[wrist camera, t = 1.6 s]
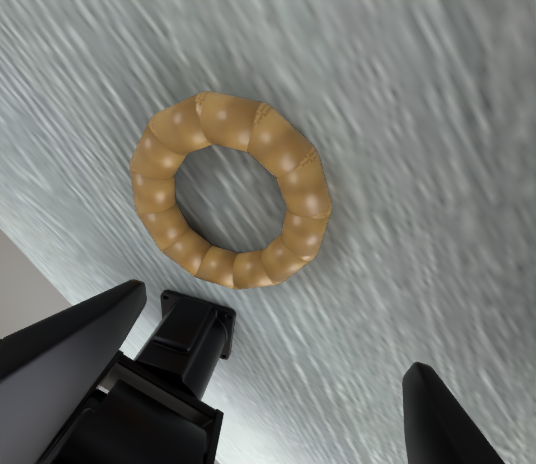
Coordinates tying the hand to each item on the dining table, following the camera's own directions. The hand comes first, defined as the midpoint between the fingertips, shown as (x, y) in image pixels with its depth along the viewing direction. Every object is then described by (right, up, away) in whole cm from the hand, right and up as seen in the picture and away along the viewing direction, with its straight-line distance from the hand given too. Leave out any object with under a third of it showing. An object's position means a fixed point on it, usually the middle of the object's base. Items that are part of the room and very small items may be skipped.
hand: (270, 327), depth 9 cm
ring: (-3, +5, +7) cm, 9 cm away
